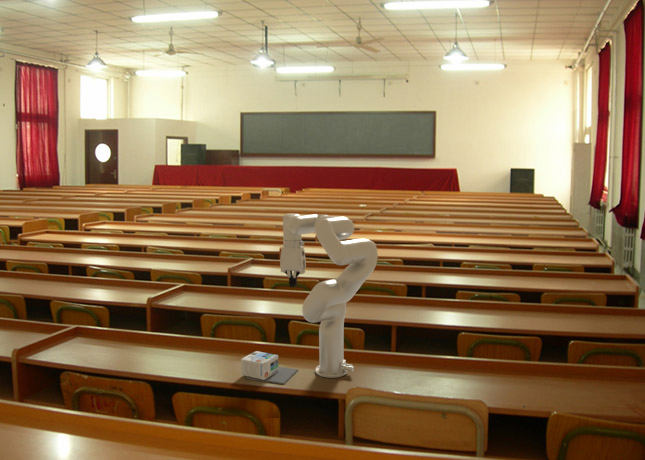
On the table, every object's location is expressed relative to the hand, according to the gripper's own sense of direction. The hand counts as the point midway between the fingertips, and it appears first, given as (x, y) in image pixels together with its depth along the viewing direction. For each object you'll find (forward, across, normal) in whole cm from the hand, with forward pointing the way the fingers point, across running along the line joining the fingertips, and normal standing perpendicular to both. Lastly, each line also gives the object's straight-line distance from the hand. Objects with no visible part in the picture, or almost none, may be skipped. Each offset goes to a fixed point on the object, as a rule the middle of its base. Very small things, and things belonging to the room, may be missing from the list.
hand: (293, 286), depth 261 cm
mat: (+29, -1, +25) cm, 38 cm away
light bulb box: (+25, +9, +26) cm, 37 cm away
